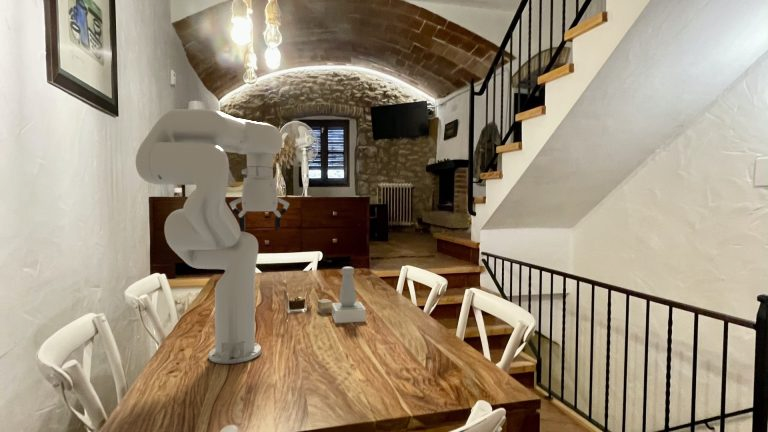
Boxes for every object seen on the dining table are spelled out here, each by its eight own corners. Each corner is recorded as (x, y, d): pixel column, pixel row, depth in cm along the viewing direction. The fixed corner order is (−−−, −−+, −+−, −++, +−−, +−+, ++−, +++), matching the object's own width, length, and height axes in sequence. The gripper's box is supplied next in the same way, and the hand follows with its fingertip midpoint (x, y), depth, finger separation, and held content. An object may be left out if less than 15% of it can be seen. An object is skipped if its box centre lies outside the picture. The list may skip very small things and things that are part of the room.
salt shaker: (357, 303, 140) (358, 265, 139) (354, 308, 134) (355, 268, 133) (341, 302, 140) (341, 265, 140) (337, 307, 135) (337, 268, 134)
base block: (365, 321, 134) (365, 308, 133) (335, 323, 131) (335, 310, 131) (360, 312, 143) (360, 300, 143) (331, 314, 141) (331, 302, 141)
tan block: (332, 312, 144) (332, 301, 144) (322, 314, 142) (322, 302, 142) (327, 309, 147) (327, 299, 147) (317, 311, 145) (317, 300, 145)
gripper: (227, 172, 117) (228, 231, 118) (289, 173, 121) (289, 231, 122) (231, 173, 125) (231, 229, 125) (289, 175, 129) (289, 229, 129)
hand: (260, 230), depth 124 cm, fingers open, 9 cm apart
